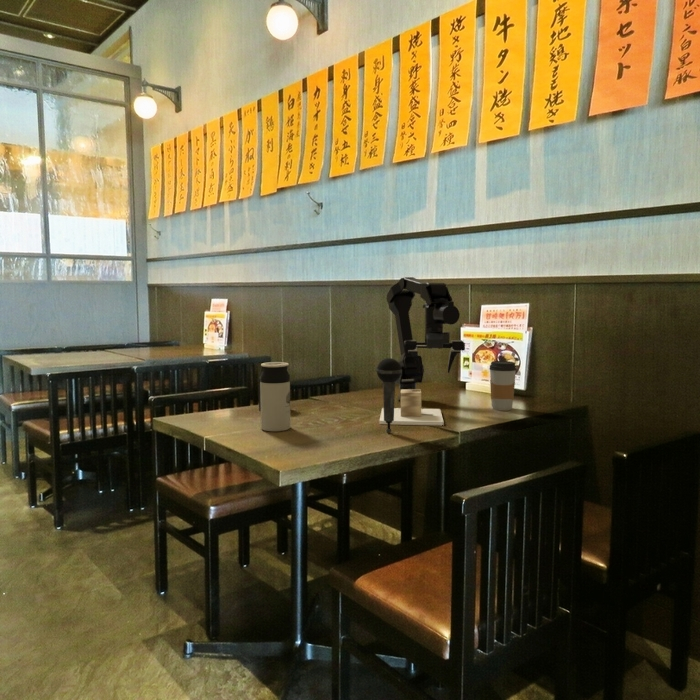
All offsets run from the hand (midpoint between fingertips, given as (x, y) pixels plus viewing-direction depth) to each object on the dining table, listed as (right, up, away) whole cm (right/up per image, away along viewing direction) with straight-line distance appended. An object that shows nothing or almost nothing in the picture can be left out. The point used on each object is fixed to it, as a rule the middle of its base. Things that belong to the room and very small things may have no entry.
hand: (433, 372), depth 180 cm
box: (-51, -12, +3) cm, 53 cm away
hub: (-8, -13, -10) cm, 18 cm away
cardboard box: (-8, -12, -10) cm, 18 cm away
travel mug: (-47, -15, -23) cm, 54 cm away
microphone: (-16, -15, -28) cm, 36 cm away
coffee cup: (+22, -12, +3) cm, 25 cm away
